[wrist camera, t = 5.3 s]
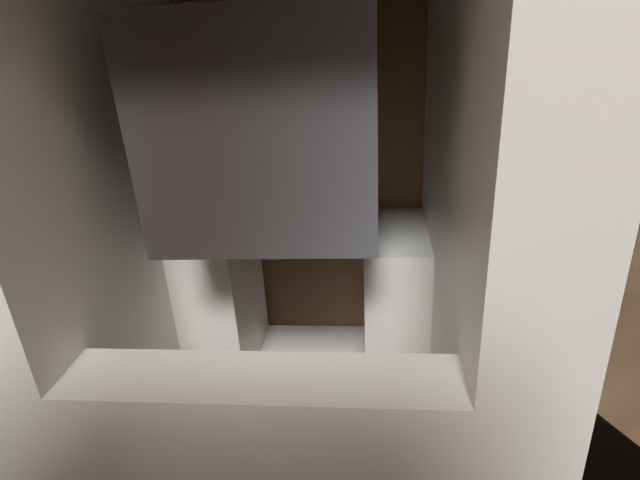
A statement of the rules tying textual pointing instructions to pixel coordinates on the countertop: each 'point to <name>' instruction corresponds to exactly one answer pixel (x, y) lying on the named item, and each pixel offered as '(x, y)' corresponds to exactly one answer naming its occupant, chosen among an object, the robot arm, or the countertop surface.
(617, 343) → the countertop surface
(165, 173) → the mounting board
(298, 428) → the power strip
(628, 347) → the countertop surface
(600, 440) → the robot arm
